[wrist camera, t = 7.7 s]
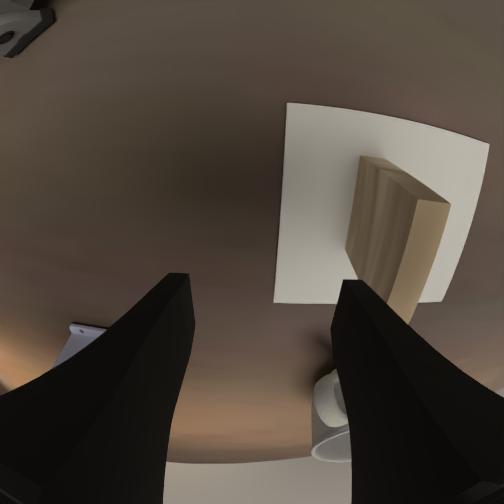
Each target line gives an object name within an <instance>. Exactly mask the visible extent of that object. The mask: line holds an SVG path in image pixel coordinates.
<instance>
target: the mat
mask: <svg viewBox="0 0 504 504" xmlns="http://www.w3.org/2000/svg"><path fill="white" fill-rule="evenodd" d="M488 150H489V144H487V143H485V142H482V141H479V140H476V139H473V138H470V137H467V136H464V135H461V134H458V133H454V132H451V131H448V130H444V129H441V128H437V127H433V126H429V125H426V124H422V123H418V122H413V121H409V120H405V119H400V118H396V117H391V116H386V115H381V114H375V113H369V112H364V111H357V110H351V109H344V108H336V107H328V106H320V105H310V104H298V103H287V106H286V127H285V146H284V164H283V180H282V196H281V210H280V225H279V238H278V251H277V264H276V276H275V288H274V303H305V304H337V302H338V298H339V294H340V290H341V286H342V281H343V279H357V280H358V278H357V276H356V273H355V271H354V269H353V267H352V264H351V262H350V260H349V258H348V256H347V253H346V251H345V244H346V239H347V234H348V228H349V223H350V217H351V212H352V206H353V200H354V193H355V187H356V180H357V173H358V166H359V158H360V155H362V156H369V157H376V158H383V159H386V160H388V161H390V162H391V163H393V164H394V165H396V166H398V167H399V168H401V169H402V170H404V171H405V172H407V173H408V174H410V175H411V176H413V177H414V178H416V179H417V180H419V181H420V182H422V183H423V184H425V185H426V186H427V187H429V188H430V189H432V190H433V191H434V192H436V193H437V194H439V195H440V196H441V197H443V198H444V199H445V200H447V201H448V202H449V203H451V207H450V211H449V215H448V218H447V222H446V225H445V229H444V232H443V235H442V238H441V242H440V245H439V248H438V251H437V254H436V257H435V260H434V262H433V265H432V268H431V271H430V273H429V276H428V279H427V281H426V284H425V287H424V289H423V292H422V294H421V296H420V299H419V301H418V303H419V302H442V300H443V297H444V295H445V293H446V291H447V288H448V286H449V284H450V281H451V279H452V276H453V274H454V271H455V269H456V266H457V264H458V261H459V258H460V255H461V253H462V250H463V247H464V244H465V241H466V238H467V235H468V232H469V229H470V226H471V222H472V219H473V216H474V212H475V209H476V205H477V201H478V197H479V193H480V189H481V185H482V181H483V176H484V172H485V167H486V161H487V156H488Z"/></svg>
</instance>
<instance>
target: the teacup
mask: <svg viewBox="0 0 504 504" xmlns="http://www.w3.org/2000/svg"><path fill="white" fill-rule="evenodd" d="M311 417H312V447H311V454H312V455H313V456H314V457H315V458H316V459H319V460H322V461H328V462H351V445H350V432H349V424H348V418H347V413H346V409H345V404H344V400H343V395H342V391H341V387H340V382H339V378H338V374H337V369H334V370H333V371H332V372H331V374H328V375H326V376H324V377H322V378H321V379H319V380H318V382H317V383H316V384H315V386H314V391H313V401H312V415H311Z"/></svg>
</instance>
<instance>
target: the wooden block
mask: <svg viewBox="0 0 504 504" xmlns="http://www.w3.org/2000/svg"><path fill="white" fill-rule="evenodd" d="M450 207H451V203H449V202H448V201H447V200H445V199H444V198H443V197H441V196H440V195H439V194H437V193H436V192H434V191H433V190H432V189H430V188H429V187H427V186H426V185H425V184H423V183H422V182H420V181H419V180H417V179H416V178H414V177H413V176H411V175H410V174H408V173H407V172H405V171H404V170H402V169H401V168H399V167H398V166H396V165H394V164H393V163H391V162H390V161H388V160H386V159H383V158H376V157H369V156H362V155H360V158H359V166H358V173H357V180H356V187H355V193H354V200H353V206H352V212H351V217H350V223H349V228H348V234H347V239H346V244H345V251H346V253H347V256H348V258H349V260H350V262H351V264H352V267H353V269H354V271H355V273H356V276H357V278H358V280H363V281H364V282H365V283H366V284H367V285H368V286H370V287H371V288H372V289H373V290H374V291H375V292H376V293H377V294H378V295H379V296H380V297H381V298H382V299H383V300H384V301H385V302H386V303H387V304H388V305H389V306H390V307H391V308H392V309H393V310H394V311H395V312H396V313H397V314H398V315H399V316H400V317H401V318H402V319H403V320H404V321H405V322H406V323H407V324H409V322H410V320H411V317H412V315H413V313H414V311H415V308H416V306H417V304H418V301H419V299H420V296H421V294H422V292H423V289H424V287H425V284H426V281H427V279H428V276H429V273H430V271H431V268H432V265H433V262H434V260H435V257H436V254H437V251H438V248H439V245H440V242H441V238H442V235H443V232H444V229H445V225H446V222H447V218H448V215H449V211H450Z"/></svg>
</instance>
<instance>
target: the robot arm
mask: <svg viewBox="0 0 504 504" xmlns="http://www.w3.org/2000/svg"><path fill="white" fill-rule="evenodd" d="M69 328H70V330H71V333H72V334H71V336H70V337H69V339H68V341H67V342H66V344H65V346H64V348H63V349H62V351H61V353H60V355H59V356H58V358H57V360H56V362H55V364H54V365H53V367H52V369H51V370H49V371H48V372H46V373H44V374H43V375H41V376H40V377H38V378H36V379H34V380H32V381H30V382H28V383H26V384H24V385H23V386H20V387H18V388H16V389H14V390H12V391H10V392H8V393H5V394H3V395H1V396H0V504H163V491H164V476H165V467H166V458H167V450H168V442H169V435H170V429H171V423H172V418H173V414H174V410H175V406H176V403H177V399H178V396H179V392H180V389H181V385H182V382H183V378H184V375H185V371H186V368H187V364H188V361H189V357H190V354H191V348H192V342H193V336H194V330H195V318H194V310H193V302H192V294H191V286H190V277H189V274H185V273H169V274H167V275H166V276H165V277H164V278H163V279H162V280H161V281H160V282H159V283H158V284H157V285H156V286H154V287H153V288H152V289H151V290H150V291H149V292H148V293H147V294H146V295H145V296H144V297H143V298H142V299H141V300H140V301H139V302H138V303H137V304H135V305H134V306H133V307H132V308H131V309H130V310H129V311H128V312H127V313H126V314H125V315H124V316H122V317H121V318H120V319H119V320H118V321H116V322H115V323H114V324H113V325H112V326H111V327H109V328H108V329H102V328H95V327H90V326H84V325H78V324H71V325H70V327H69ZM330 329H331V339H332V348H333V356H334V361H335V365H336V369H337V374H338V378H339V382H340V387H341V391H342V395H343V400H344V404H345V409H346V413H347V418H348V424H349V432H350V445H351V462H352V503H351V504H504V398H503V397H502V396H500V395H498V394H496V393H495V392H493V391H491V390H490V389H488V388H487V387H485V386H484V385H482V384H481V383H479V382H478V381H476V380H475V379H473V378H472V377H470V376H469V375H467V374H466V373H464V372H463V371H462V370H460V369H459V368H458V367H456V366H455V365H454V364H453V363H451V362H450V361H449V360H448V359H446V358H445V357H444V356H442V355H441V354H440V353H439V352H438V351H436V350H435V349H434V348H433V347H432V346H431V345H430V344H429V343H427V342H426V341H425V340H424V339H423V338H422V337H421V336H420V335H419V334H417V333H416V332H415V331H414V330H413V329H412V328H411V327H410V326H409V325H408V324H407V323H406V322H405V321H404V320H403V319H402V318H401V317H400V316H399V315H398V314H397V313H396V312H395V311H394V310H393V309H392V308H391V307H390V306H389V305H388V304H387V303H386V302H385V301H384V300H383V299H382V298H381V297H380V296H379V295H378V294H377V293H376V292H375V291H374V290H373V289H372V288H371V287H370V286H368V285H367V284H366V283H365V282H364V281H363V280H357V279H343V281H342V286H341V290H340V294H339V298H338V302H337V306H336V310H335V313H334V317H333V321H332V325H331V328H330Z"/></svg>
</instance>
